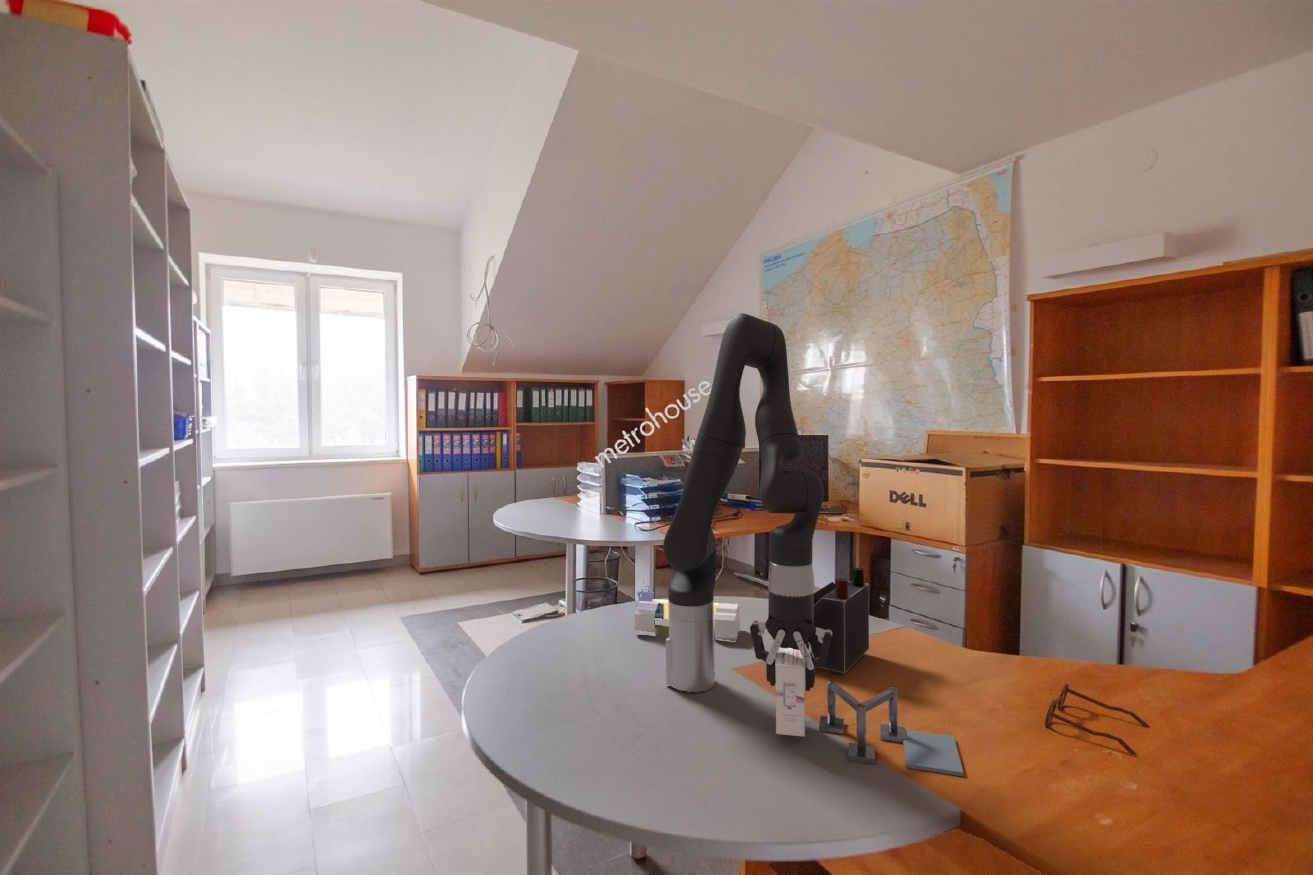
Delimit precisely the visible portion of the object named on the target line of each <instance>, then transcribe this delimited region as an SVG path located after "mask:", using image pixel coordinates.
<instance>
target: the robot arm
mask: <svg viewBox="0 0 1313 875" xmlns="http://www.w3.org/2000/svg"><path fill="white" fill-rule="evenodd" d="M788 364H789V363H788V355H787V343H786V338H785V335H784V332H783V330H782V329H781V328H780V327H779V326H778V325H776V324H775V323H772V322H770V321H766V320H765V319H761V318H759V317H756V316H754V315H750V314H747V313H737V314H735V315H734V317H732V318H731V319H730V320H729V322H728V323H727V326H726V327H725V329H724V332H723V335H722V338H721V342H720V347H719V350H718V355H717V360H716V366H715V371H714V374H713V375H714V376H713V380H712V385H711V389H710V393H709V396H708V399H707V400H708V401H707V404H706V407H705V411H704V414H703V416H702V419H701V423H700V427H699V429H698V432H697V436H696V439H695V443H694V446H693V449H692V452H691V453H692V454H691V458H690V461H689V465H688V467H687V468H688V469H687V472H686V475H685V480H684V483H683V484H684V485H683V488H682V493H681V496H680V500H679V502H678V504H677V506H676V510H675V512H674V515H673V517H672V519H671V521H670V524H669V527H668V529H667V531H666V534H665V535H664V538H663V544H662V545H663V546H662V551H663V555H664V558H665V560H666V561H667V563H668V564H669V566H670V567H671V568H672V574H671V578H670V582H669V584H668V588H667V592H668V593H667V596H668V597H667V600H668V612H669V627H668V636H667V638H666V639H665V672H666V673H665V676H666V678H665V681H666V682H665V684H667V685H671V686H673V687H675V688H677V689H678V690H677V691H679V690H682V691H688V692H687V693H691V692H694V693H700V692H699V691H703V692H706V691H708V690H711V689H713V687H714V686H715V684H716V683H715V680H716V679H715V678H716V672H715V664H716V663H715V632H714V603H715V601H714V599H715V598H714V597H715V596H714V594H715V593H714V592H715V587H716V582H717V581H716V579H717V542H716V541H717V540H716V537H715V533H714V531H713V529H712V524H713V521H714V517H715V513H716V511H717V507H718V506H719V503H720V501H721V499H722V497H723V495H724V493H725V492H726V490H727V488H728V486H729V484H730V482H731V480H732V478H733V476H734V474H735V471H736V469H737V466H738V464H739V461H740V458H741V455H742V452H743V449H744V445H745V440H746V436H747V432H746V430H747V429H746V422H745V417H744V412H743V408H742V407H743V406H742V402H741V394H740V393H741V391H740V390H741V389H740V388H741V383H742V377H743V372H744V369H745V367H746V366H747V367H750V368H754V369H757V371H758V373H759V376H760V378H761V382H762V388H763V389H762V393H761V396H760V399H759V402H758V404H757V408H756V410H755V416H754V426H755V431H756V432H755V433H756V437H757V441H758V444H759V445H758V446H759V448H760V459H761V461H760V462H761V463H760V464H761V465H760V466H761V468H760V479H759V500H760V502H761V504H762V505H763V507H764V509H765V510H767V511H768V512H770V513H773V514H785V513H786V514H787V513H788V514H789V513H794V516H793V518H791V520H790V521H789V522H788V523H785V524H782V525H778V526H776V527H774V528H773V529H771V531H770V536H769V560H770V561H769V568H768V569H769V570H768V592H767V593H768V594H767V595H768V604H767V606H768V607H767V608H768V610H767V611H768V613H767V614H768V617H767V620H766V621H760V622H759V621H758V620H754V621H753V622H752V623H751V625H750V627H749V630H750V635H751V641H752V646H753V650H754V654H755V658H756V659H757V660H761V661H764V663H766V675H765V676H766V680H767V682H769V685H770V686H772V687H776V672H775V660H776V654H777V652H778V650H779V647H781V648H792V649H794V650H800V653H801V655H802V657H803V653H802V644H803V647H804V659H805V692H806V691H807V692H810V691H811V689H813V688H814V686H815V683H816V678H815V677H816V669H817V668H818V669H819V668H821V669H824V668H823V667H825V664H826V659H827V655H828V651H829V646H830V642H831V638H832V633H833V632H832V630H831V629H826V630H824V629H821V628H818V627H817V626H816V624H815V622H814V593H815V591H814V590H815V577H814V568H813V540H814V533H815V531H816V527H817V523H818V518H819V516H820V512H821V509H822V505H823V501H824V497H825V496H824V495H825V494H824V492H825V491H824V490H825V488H824V485H823V481H822V480H821V478H820V476H819V475H818V474H817V473H816V472H815V471H812V470H805V469H804V470H782V469H781V466H786V465H789V464H791V463H793V462H795V461H797V460H798V459H799V458H800V456H801V455H802V444H801V440H800V437H799V436H800V435H799V432H798V429H797V424H796V421H795V416H794V414H793V408H792V402H791V394H790V393H791V391H790V379H789V378H790V376H789V366H788ZM765 630H766V631H767V632H768V633H769V635H770V636H771V638H772V639H773V643H772V645H771V647H770V650H769V651H767V650H766V649H765V646H764V640H763V635H764V634H765ZM815 634H816V635H817V636H818V641H819V642H820V643H822V647H821V651H820V656H819V657H816V658H814V656H813V653H812V650H811V646H810V644H809V641H810V640H811V638H812V637H813V636H814V635H815ZM682 691H681V692H682Z"/></svg>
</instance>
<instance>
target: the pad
mask: <svg viewBox="0 0 1313 875" xmlns="http://www.w3.org/2000/svg"><path fill="white" fill-rule="evenodd" d="M905 730H906V740H904V739H903V743H902V744H903V753H904V761H905V762H904V763H905V768H907V769H912V770H920V771H926V772H932V773H940V774H944V775H945V774H946V775H953V776H957V777H964V770H963V766H962V762H961V758H960V754H959V751H958V747H957V744H956V740H955V739H956V738H955V736H954V735H946V734H939V733H932V732H925V731H919V730H911V729H910V730H909V729H905Z"/></svg>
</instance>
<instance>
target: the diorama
mask: <svg viewBox="0 0 1313 875" xmlns="http://www.w3.org/2000/svg"><path fill="white" fill-rule="evenodd" d="M645 587H646V588H641V591H636V596H637V597H638V598H637V599H635V602H637V604H635V607H636V608H635V611H634V631H635V630H641V631H647V632H655V633H656V631H655V628H656V627H655V620H654V618H662V619H668V620H669V612H668V599H661V598H660V599H658V598H656V599H655V598H654V596H655V591H652V590H653V586H652V584H649V585H645ZM644 590H647V591H644ZM739 629H741V606H740V605H739V603H727V602H726V603H725V602H724V603H723V602H714V640H715V639H722V640H730V641H736V638H737V636H738V637H739V635H738V632H739ZM739 633H740V632H739ZM737 639H738V638H737ZM736 642H737V641H736Z"/></svg>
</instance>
